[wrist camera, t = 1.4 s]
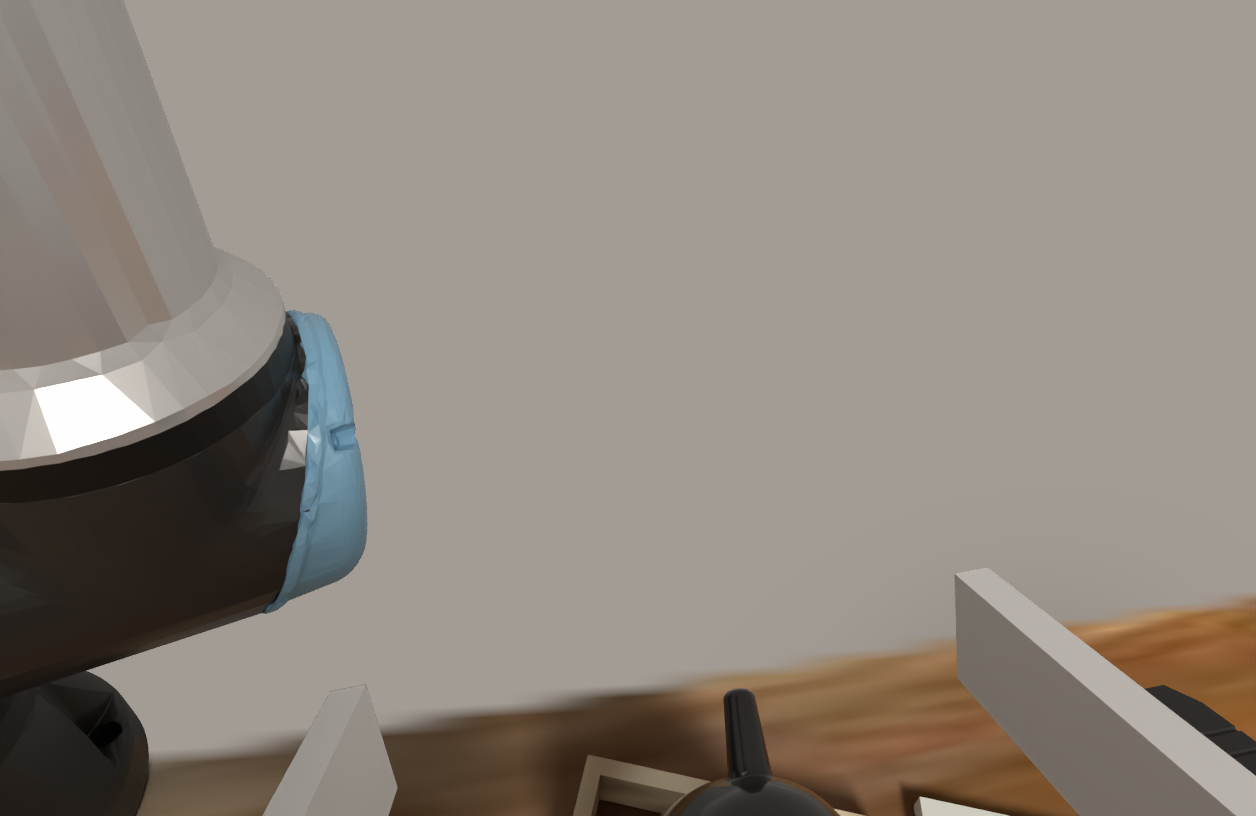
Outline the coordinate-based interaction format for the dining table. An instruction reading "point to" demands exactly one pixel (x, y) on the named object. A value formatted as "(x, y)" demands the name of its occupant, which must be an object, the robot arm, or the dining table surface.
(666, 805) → the square picture frame
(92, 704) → the robot arm
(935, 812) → the ceramic tile
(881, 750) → the dining table surface
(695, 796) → the black tall egg-shaped piece
